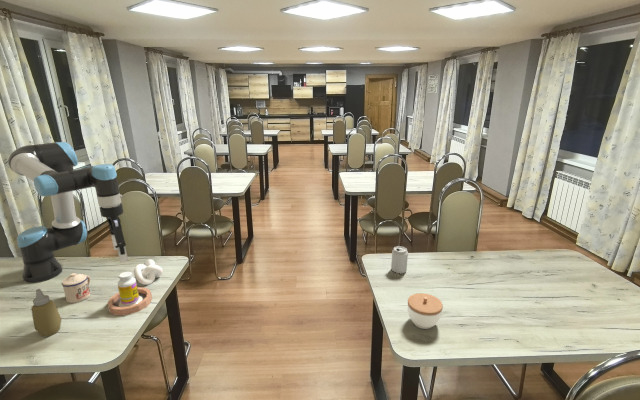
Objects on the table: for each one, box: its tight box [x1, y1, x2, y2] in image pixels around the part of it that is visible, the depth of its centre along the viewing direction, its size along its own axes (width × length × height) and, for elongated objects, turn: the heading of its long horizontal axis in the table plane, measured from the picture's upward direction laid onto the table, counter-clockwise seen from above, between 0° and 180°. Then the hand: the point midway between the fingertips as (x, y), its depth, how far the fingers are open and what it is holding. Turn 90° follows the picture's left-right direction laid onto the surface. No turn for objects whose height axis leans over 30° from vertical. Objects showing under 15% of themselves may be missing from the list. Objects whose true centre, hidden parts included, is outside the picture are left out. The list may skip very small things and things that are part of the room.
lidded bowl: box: [407, 293, 443, 330], centre depth 131 cm, size 13×13×11 cm
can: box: [390, 245, 409, 274], centre depth 169 cm, size 8×8×12 cm
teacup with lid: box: [61, 272, 91, 304], centre depth 150 cm, size 12×9×12 cm
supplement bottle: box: [117, 271, 139, 305], centre depth 144 cm, size 7×7×13 cm
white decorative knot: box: [133, 258, 164, 286], centre depth 162 cm, size 11×12×9 cm
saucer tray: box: [107, 286, 153, 316], centre depth 146 cm, size 16×16×3 cm
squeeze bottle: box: [31, 288, 62, 337], centre depth 127 cm, size 8×8×18 cm
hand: (120, 254), depth 139 cm, fingers open, 13 cm apart
